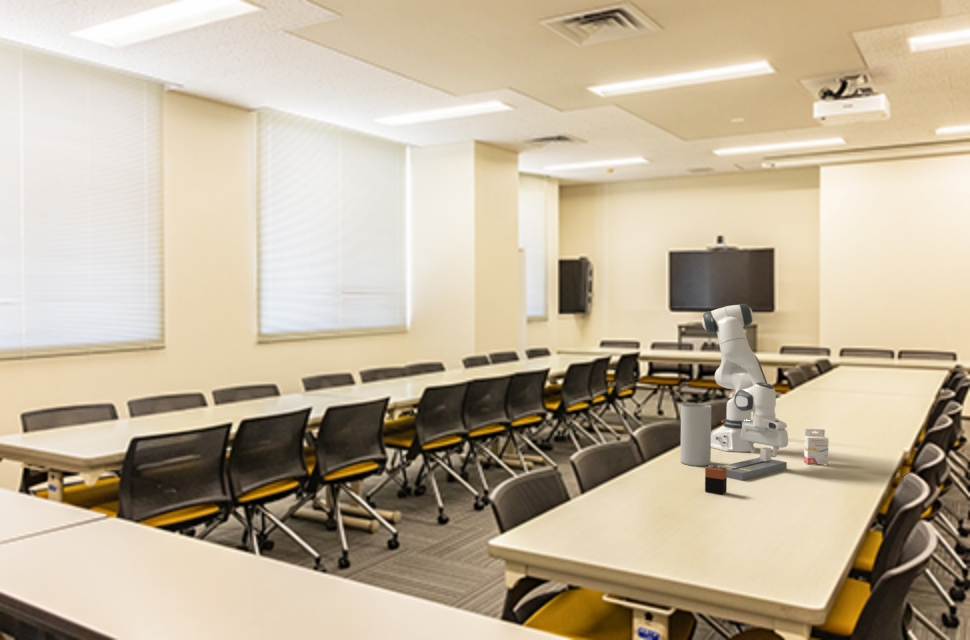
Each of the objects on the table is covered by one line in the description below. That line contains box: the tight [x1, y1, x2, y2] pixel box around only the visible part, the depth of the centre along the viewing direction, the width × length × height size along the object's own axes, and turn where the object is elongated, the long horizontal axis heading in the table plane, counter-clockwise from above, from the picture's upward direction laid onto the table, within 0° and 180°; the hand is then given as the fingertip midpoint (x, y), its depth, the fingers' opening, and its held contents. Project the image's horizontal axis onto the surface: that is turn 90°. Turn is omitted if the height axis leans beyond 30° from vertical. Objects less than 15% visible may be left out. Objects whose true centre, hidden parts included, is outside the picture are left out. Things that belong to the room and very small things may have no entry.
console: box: [722, 457, 788, 482], centre depth 303 cm, size 12×32×3 cm, turn 128°
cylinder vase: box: [680, 402, 712, 467], centre depth 319 cm, size 12×12×25 cm
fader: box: [759, 446, 772, 463], centre depth 309 cm, size 2×4×7 cm, turn 128°
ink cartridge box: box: [803, 428, 829, 465], centre depth 319 cm, size 9×5×15 cm, turn 84°
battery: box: [704, 464, 728, 495], centre depth 271 cm, size 4×7×10 cm, turn 54°
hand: (763, 454), depth 309 cm, fingers open, 8 cm apart
